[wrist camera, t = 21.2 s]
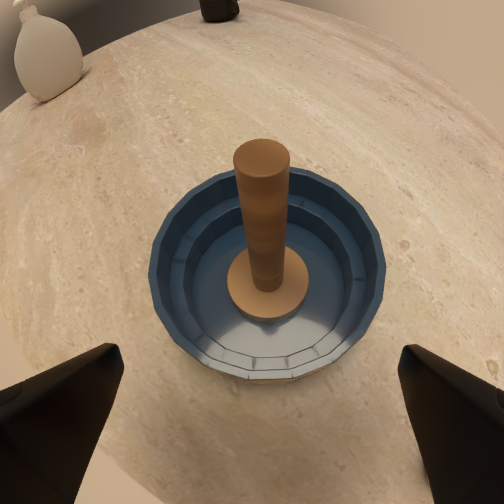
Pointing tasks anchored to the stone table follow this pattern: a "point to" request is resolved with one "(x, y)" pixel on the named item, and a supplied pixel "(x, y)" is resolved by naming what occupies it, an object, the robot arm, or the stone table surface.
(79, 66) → the soap bottle
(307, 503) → the stone table surface
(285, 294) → the wooden peg stand
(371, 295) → the bowl
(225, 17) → the mug
